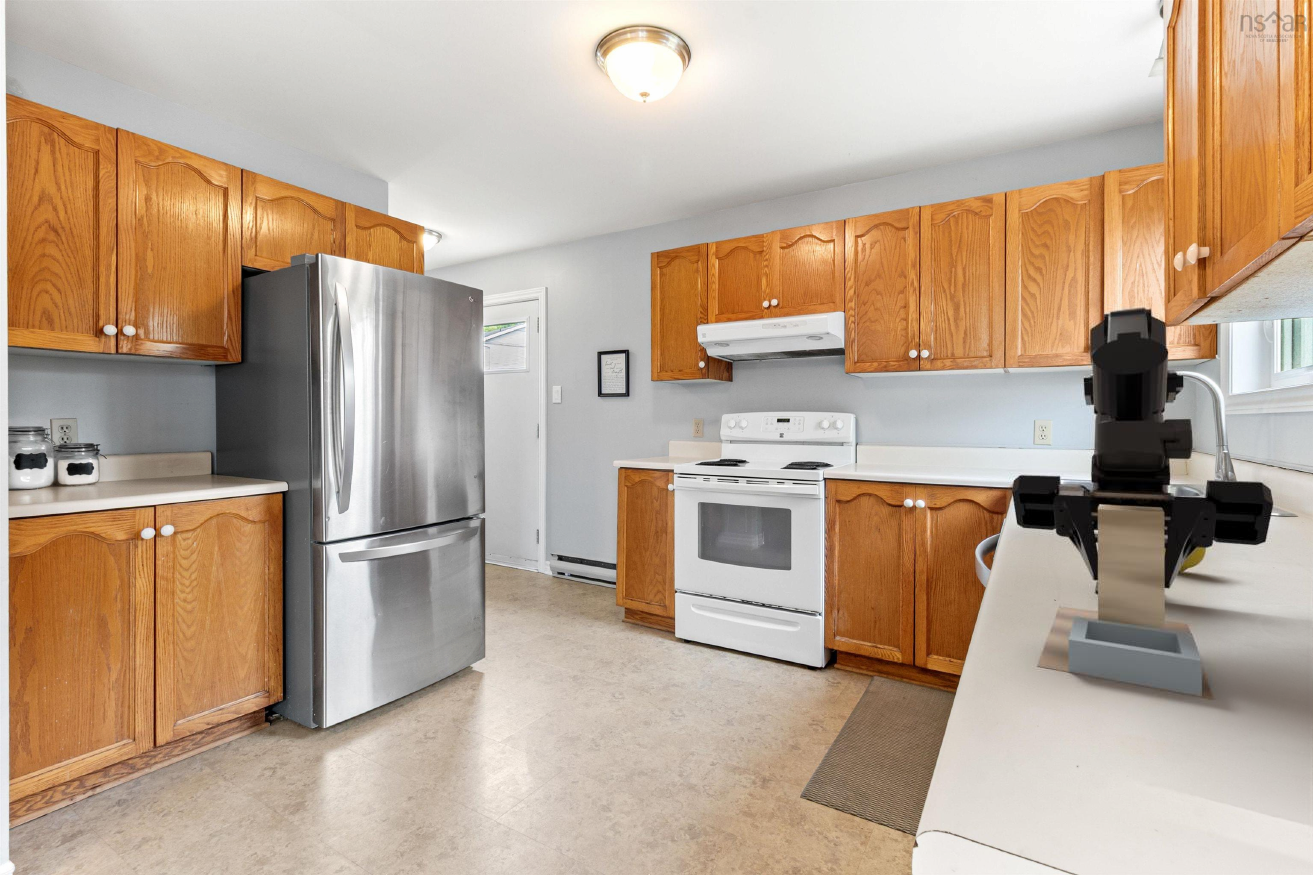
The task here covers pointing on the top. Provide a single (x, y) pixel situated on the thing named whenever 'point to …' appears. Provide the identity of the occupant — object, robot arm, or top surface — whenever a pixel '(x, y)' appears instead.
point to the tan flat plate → (1058, 644)
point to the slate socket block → (1136, 655)
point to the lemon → (1192, 558)
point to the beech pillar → (1131, 565)
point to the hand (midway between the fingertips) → (1130, 581)
